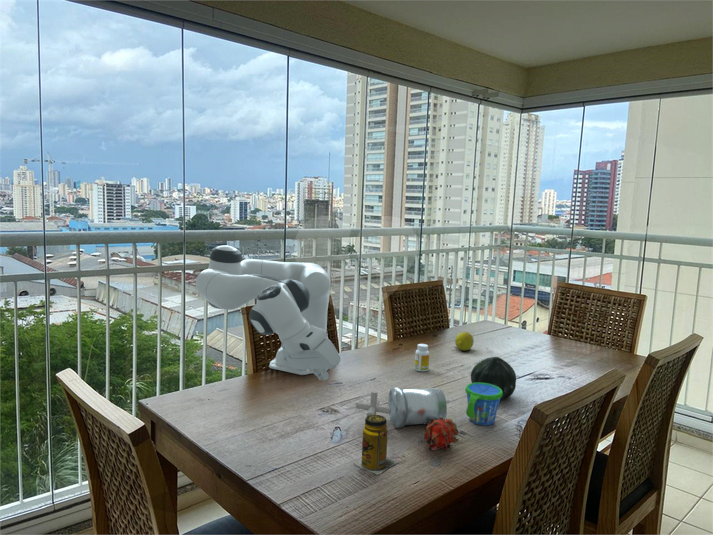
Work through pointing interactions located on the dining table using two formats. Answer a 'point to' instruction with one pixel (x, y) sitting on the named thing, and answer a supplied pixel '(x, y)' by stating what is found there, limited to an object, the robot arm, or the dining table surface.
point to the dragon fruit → (441, 434)
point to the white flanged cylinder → (416, 406)
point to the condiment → (375, 445)
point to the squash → (495, 375)
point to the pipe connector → (373, 405)
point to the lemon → (464, 341)
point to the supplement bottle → (422, 358)
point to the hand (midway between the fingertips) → (325, 378)
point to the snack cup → (482, 402)
